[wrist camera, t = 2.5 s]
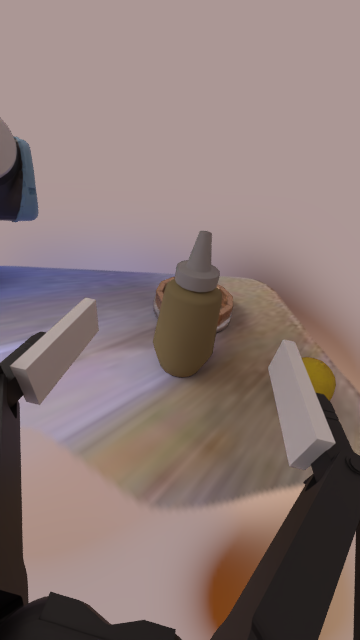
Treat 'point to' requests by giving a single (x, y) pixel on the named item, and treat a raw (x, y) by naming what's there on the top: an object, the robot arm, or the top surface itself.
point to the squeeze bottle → (189, 313)
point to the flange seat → (224, 310)
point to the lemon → (320, 376)
